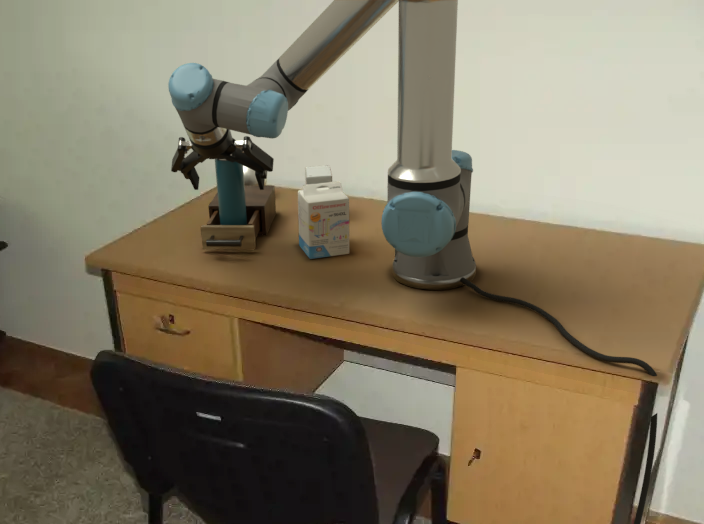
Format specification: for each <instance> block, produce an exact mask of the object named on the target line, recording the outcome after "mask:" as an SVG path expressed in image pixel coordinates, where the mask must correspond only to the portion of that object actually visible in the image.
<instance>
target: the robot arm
mask: <svg viewBox="0 0 704 524" xmlns="http://www.w3.org/2000/svg"><path fill="white" fill-rule="evenodd" d="M396 4H398V28H397V29H398V31H397V32H398V33H397V34H398V35H397V39H398V43H397V46H398V47H397V48H398V50H397V51H398V52H397V140H396V141H397V143H396V144H397V146H396V147H397V149H396V150H397V151H396V152H397V153H396V157H397V158H396V160H395V161H394V162H393V163H392V164H391V165H390V166H389V168H388V169H387V203H386V205H385V206H384V208H383V210H382V215H381V231H382V234H383V236H384V238H385V240H386V241H387V243H388V245H390V246H391V247H392V248H393V249H394V260H393V261H392V272H391V273H392V276H393V278H394V279H395V280H396V281H397V282H399V283H400V284H402V285H405V286H407V287H411V288H414V289H421V290H428V291H429V290H430V291H441V290H442V291H443V290H451V289H455V288H459V287H463V286H465V285H466V286H467V287H468V288H470V289H471V290H473V291H474V292H476V293H477V294H479V295H480V296H482V297H483V298H487V299H489V300H493V301H498V302H503V303H509V304H514V305H519V306H522V307H524V308H527V309H529V310H532V311H534V312H535V313H537V314H539V315H540V316H542V317H543V318H545V319H546V320H547V321H548V322H550V323H551V324H553V326H554V327H555V328H556V329H557V331H558V332H559V333H560V334H561V335H562V337H564V338H565V339H566V340H567V341H568V342H569V343H571V344H572V345H574V346H575V347H576V348H578V349H579V350H580V351H582V352H583V353H585V354H587V355H589V356H591V357H593V358H594V359H597V360H600V361H603V362H606V363H613V364H614V363H616V364H630V365H635V366H638V367H640V368H642V369H643V370H644V371H645V372H646V373H647V374H648V375H649V376H651V377H657V376H658V375H657V372H656V371H655V369H654V368H653V367H652V366H651V365H650V364H649V363H648V362H645V361H644V360H642V359H640V358H636V357H631V356H630V357H629V356H613V355H606V354H603V353H601V352H598V351H596V350H594V349H592V348H590V347H588V346H587V345H585V344H584V343H582V342H581V341H579V340H578V339H577V338H576V337H575V336H573V335H572V334H570V333H569V332H568V330H567V329H566V328H565V327H564V325H563V324H562V323H561V322H560V321H559V319H557V318H556V317H554V316H553V315H552V314H550V313H549V312H547V311H546V310H545V309H543V308H541V307H539V306H537V305H535V304H533V303H531V302H528V301H525V300H523V299H519V298H516V297H510V296H504V295H498V294H495V293H492V292H491V293H490V292H487V291H485V290H484V289H482V288H480V286H478V285H477V284H475V283H473V282H472V281H473V280H474V279H475V277H476V273H477V263H476V261H475V257H474V256H473V252H472V247H471V243H470V238H469V223H470V222H469V221H470V207H471V206H470V205H471V204H470V202H471V192H472V175H473V172H474V168H473V158H472V156H471V154H470V153H468V152H465V151H463V150H457V149H453V134H454V133H453V132H454V111H455V110H454V108H455V85H456V84H455V83H456V61H457V59H456V57H457V31H458V11H459V9H458V5H459V0H332V2H331V3H330V4H328V6H327V7H326V8H325V9H324V10H323V11H322V12H321V13H320V14H319V15H318V16H317V18H316V19H314V20H313V22H311V23H310V25H309V26H308V27H307V28H306V29H305V30H304V31H303V32H302V33H301V34H300V35H299V36H298V37H297V38H296V39H295V41H293V43H292V44H291V45H290V46H289V47H288V48H287V49H286V50H285V51H284V52H283V53H282V54H281V55H280V56H279V57H278V58H277V59H276V60H275V61H274V62H273V63H272V64H271V66H269V68H268V69H266V71H264V72H263V74H262V75H260V76H258V78H256V79H254V80H253V81H252V82H250V83H248V84H247V85H244V84H239V83H233V82H230V81H225V80H221V79H218V78H217V79H216V78H213V75H212V73H210V71H209V70H208V68H207V67H205V66H204V65H203V64H201V63H197V62H188V63H184V64H181V65H179V66H178V67H177V68H175V70H174V71H172V72H171V75H170V77H169V79H168V83H167V85H168V86H167V87H168V92H169V95H170V98H171V103H172V106H173V107H174V109H175V111H176V112H177V113H178V116H179V118H180V120H181V123H182V126H183V128H184V130H185V133H186V135H187V137H188V139H189V141H188V140H186V138H185V137H183V136H180V137H179V138H178V141H177V149H176V151H175V153H174V155H173V157H172V160H171V167H170V168H171V169H170V171H171V172H172V173H178V171H179V172H180V173H181V174H182V175H183V178H184V179H186V180H189V181H190V184H191V186H192V187H193V189H194V191H198V190H199V187H200V176H199V173H198V172H197V170H196V166H198V165H199V164H202V163H204V162H205V161H206V160H215V159H226V160H228V161H230V162H232V163H233V162H237V163H239V164H241V165H244V166H246V167H248V168H250V169H252V170H254V171H255V176H256V179H257V182H258V185H259V188H260V190H264V181H265V179H266V178H267V179H268V172H269V173H270V172H271V173H272V172H273V171H274V161H275V159H274V157H272V156H271V155H270V154H268V153H267V152H266V151H265V150H263V149H262V148H261V147H260V146H258V145H257V144H255V143H254V142H253V140H252V138H251V137H250V136H248V135H251V136H252V137H255V138H266V139H273V140H274V139H277V138H279V137H280V136H281V134H282V132H283V130H284V128H285V127H286V126H285V125H286V122H287V119H288V113H289V111H291V110H292V108H293V107H295V106H296V105H297V104H298V102H299V100H300V99H301V98H302V97H303V96H304V95H305V94H306V93H307V92H308V91H309V90H310V89H311V88H312V87H313V86H314V85H315V84H316V83H317V82H318V81H319V80H320V79H321V78H322V77H323V76H324V75H325V74H326V73H327V72H328V71H329V70H330V69H331V68H332V67H333V66H334V65H336V63H337V62H338V61H340V59H342V58H343V57H344V56H345V55H346V54H347V53H348V52H349V51H350V50H351V48H353V47H354V45H356V44H357V43H358V42H359V41H360V40H361V39H363V37H364V36H365V35H366V34H367V33H368V32H369V31H370V30H371V29H372V28H373V27H374V26H375V25H376V24H377V23H378V22H379V21H380V20H382V18H383V17H385V15H386V14H387V13H388V12H389V11H390V10H391V9H392V8H393V7H394V6H395V5H396ZM232 131H234V132H238V133H242V134H246V135H245V136H243V139H242V140H236V139H235V138H234V137H233V135H232ZM190 150H192V151H191V152H190V153H189V154H188V152H189V151H190ZM186 154H188V155H187V156H186V157H185V155H186ZM231 154H232V156H231ZM649 421H650V422H649V436H648V446H647V455H646V461H645V468H644V475H643V479H642V485H641V490H640V495H639V501H638V505H637V508H636V513H635V518H634V522H633V524H642V519H643V514H644V511H645V505H646V502H647V497H648V491H649V488H650V487H649V486H650V482H651V476H652V471H653V464H654V458H655V450H656V441H657V430H658V412H655V413H654V414H653V415H652V416H650V419H649Z"/></svg>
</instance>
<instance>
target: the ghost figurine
mask: <svg viewBox="0 0 704 524" xmlns="http://www.w3.org/2000/svg"><path fill="white" fill-rule="evenodd" d="M243 172H244V186H259V185H258V182H257V179H256V176H255V171H254V170H252V169H250V168H248V167H246V166H244V165H243ZM267 182H268V177H267V178H266V179H265V181H264V186H267Z"/></svg>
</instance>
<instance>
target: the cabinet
mask: <svg viewBox="0 0 704 524" xmlns="http://www.w3.org/2000/svg"><path fill="white" fill-rule="evenodd" d="M244 187H245V201H246V209H261V225H262V226H261V229H260V231H259V233H258V235H257V237H258V236H259V237H260V236H261V237H263V236H264V237H265V236H267V235H268V232H269V229H270V228H271V226H272V224H273V222H274V220H275V217H276V216H277V215H276V214H277V208H276V207H277V205H276V189H275V188H276V186H275V185H266V186H264V190H260V188H259V186H244ZM207 209H208V217H209V219H210V218H211V216H212V215H213V213H214V211H215V210H216V209H219V204H218V192H216V194H215V196H213V198H212V200H211V201H210V203H209V205H208V207H207Z"/></svg>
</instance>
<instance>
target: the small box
mask: <svg viewBox="0 0 704 524" xmlns="http://www.w3.org/2000/svg"><path fill="white" fill-rule="evenodd" d="M304 175H305V176H304V177H305V178H304V179H305V185H307V184H319V183H328V182H333V173H332V170H331V165H312V166H305V167H304ZM325 187H326V186H320V187H318V188H325Z"/></svg>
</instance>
